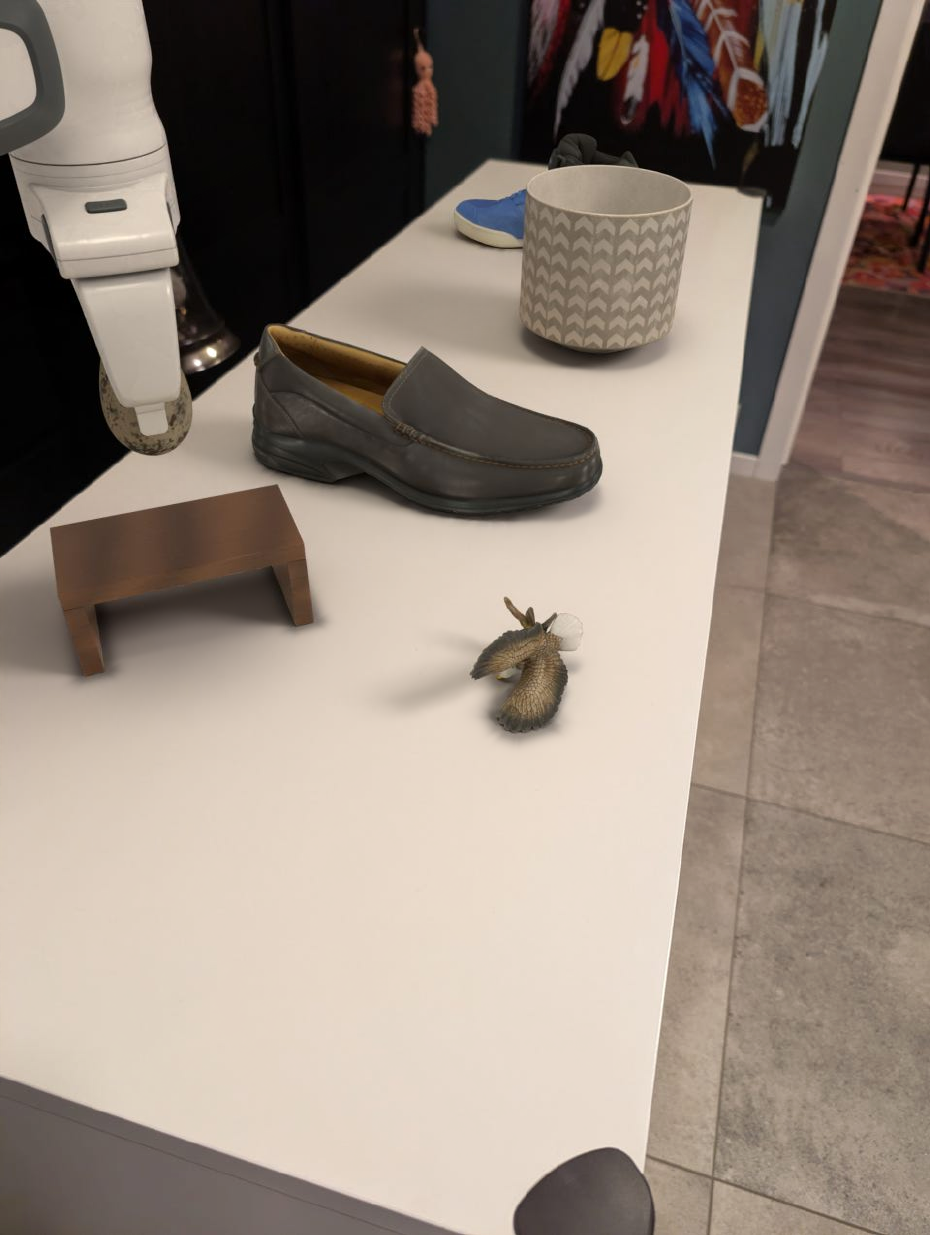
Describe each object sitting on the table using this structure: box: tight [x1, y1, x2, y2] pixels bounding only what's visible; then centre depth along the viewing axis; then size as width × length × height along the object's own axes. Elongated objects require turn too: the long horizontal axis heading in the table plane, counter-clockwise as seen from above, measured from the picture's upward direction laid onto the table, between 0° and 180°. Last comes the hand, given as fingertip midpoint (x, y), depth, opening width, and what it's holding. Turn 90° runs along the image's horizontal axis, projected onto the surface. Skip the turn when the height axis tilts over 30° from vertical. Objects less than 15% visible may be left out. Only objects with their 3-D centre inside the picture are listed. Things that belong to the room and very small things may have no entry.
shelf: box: [49, 483, 314, 677], centre depth 77 cm, size 18×9×8 cm, turn 112°
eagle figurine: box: [469, 596, 584, 734], centre depth 71 cm, size 8×7×9 cm
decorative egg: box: [98, 359, 193, 457], centre depth 66 cm, size 6×6×10 cm
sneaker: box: [452, 133, 640, 249], centre depth 142 cm, size 12×29×16 cm, turn 71°
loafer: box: [251, 323, 604, 516], centre depth 92 cm, size 13×36×13 cm, turn 76°
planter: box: [519, 165, 694, 354], centre depth 115 cm, size 19×19×18 cm
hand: (147, 405), depth 67 cm, fingers closed on decorative egg, 6 cm apart
